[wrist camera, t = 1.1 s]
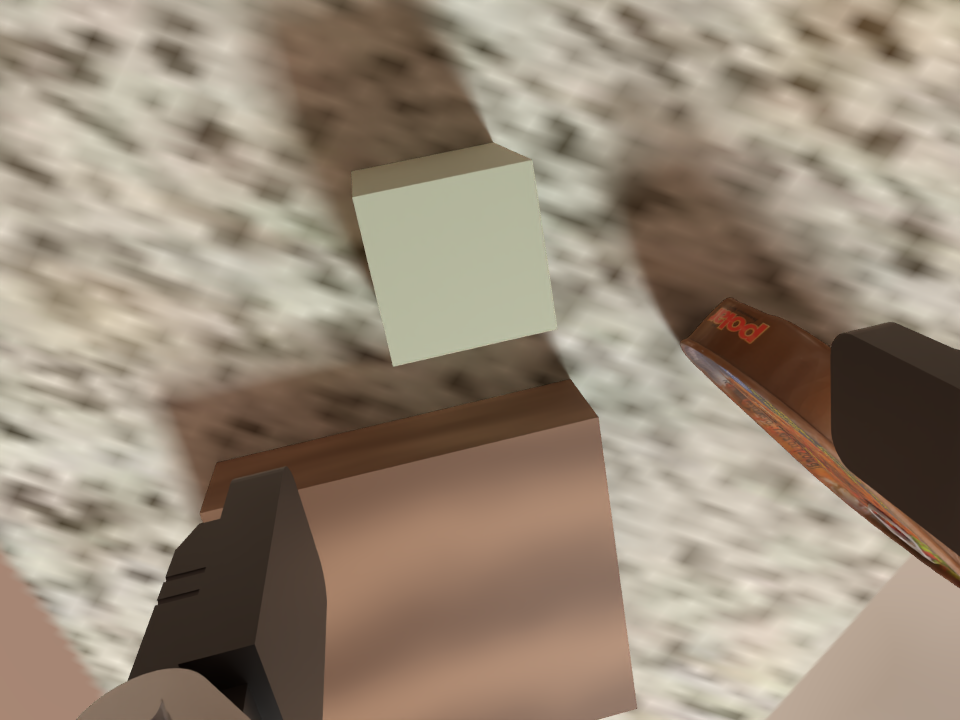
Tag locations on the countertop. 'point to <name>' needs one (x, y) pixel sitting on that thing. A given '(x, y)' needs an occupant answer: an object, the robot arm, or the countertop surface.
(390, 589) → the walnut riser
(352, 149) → the countertop surface
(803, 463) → the tin
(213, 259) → the countertop surface
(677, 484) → the countertop surface
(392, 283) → the sage block
